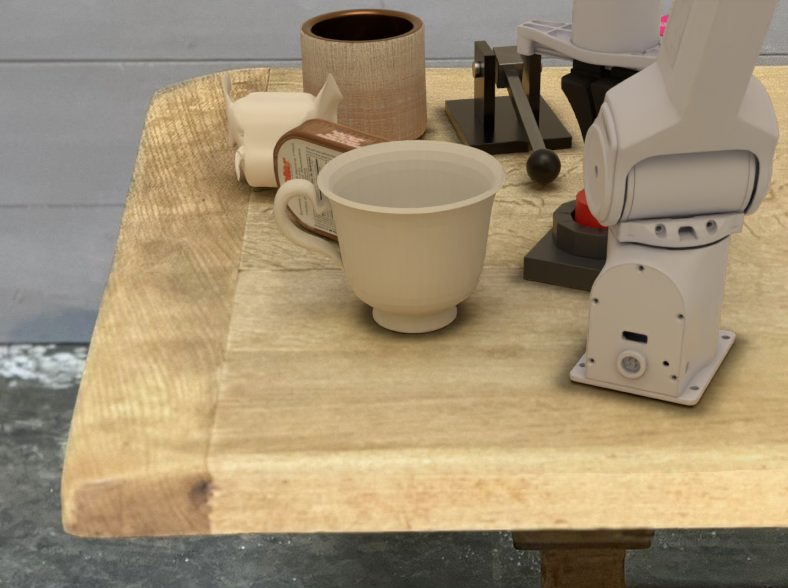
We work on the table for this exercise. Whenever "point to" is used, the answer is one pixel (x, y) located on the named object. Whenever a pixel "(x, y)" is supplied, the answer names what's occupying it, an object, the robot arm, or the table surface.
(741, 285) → the table surface
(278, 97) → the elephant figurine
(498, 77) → the lever
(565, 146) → the bracket
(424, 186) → the teacup
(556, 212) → the button box
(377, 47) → the planter
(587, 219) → the button
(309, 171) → the tin
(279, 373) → the table surface
